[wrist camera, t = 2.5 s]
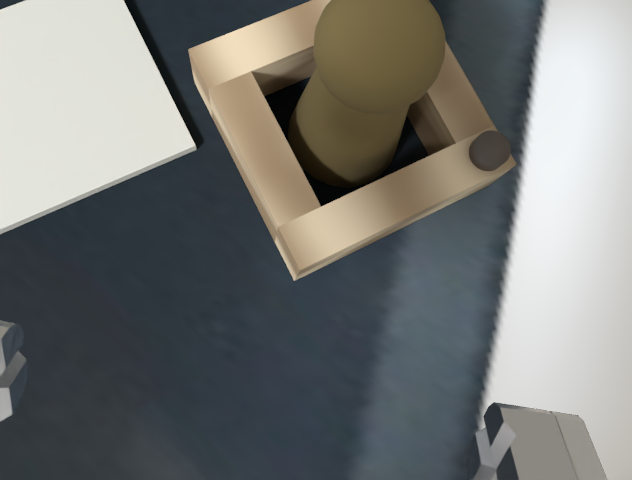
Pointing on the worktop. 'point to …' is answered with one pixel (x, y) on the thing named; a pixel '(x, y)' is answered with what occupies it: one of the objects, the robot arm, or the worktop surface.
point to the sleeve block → (284, 170)
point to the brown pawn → (364, 86)
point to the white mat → (77, 106)
